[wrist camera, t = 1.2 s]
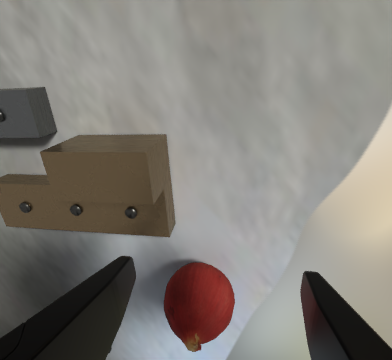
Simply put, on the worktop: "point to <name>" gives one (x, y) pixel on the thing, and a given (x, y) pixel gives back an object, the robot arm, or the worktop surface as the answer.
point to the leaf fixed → (25, 113)
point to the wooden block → (95, 187)
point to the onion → (198, 304)
